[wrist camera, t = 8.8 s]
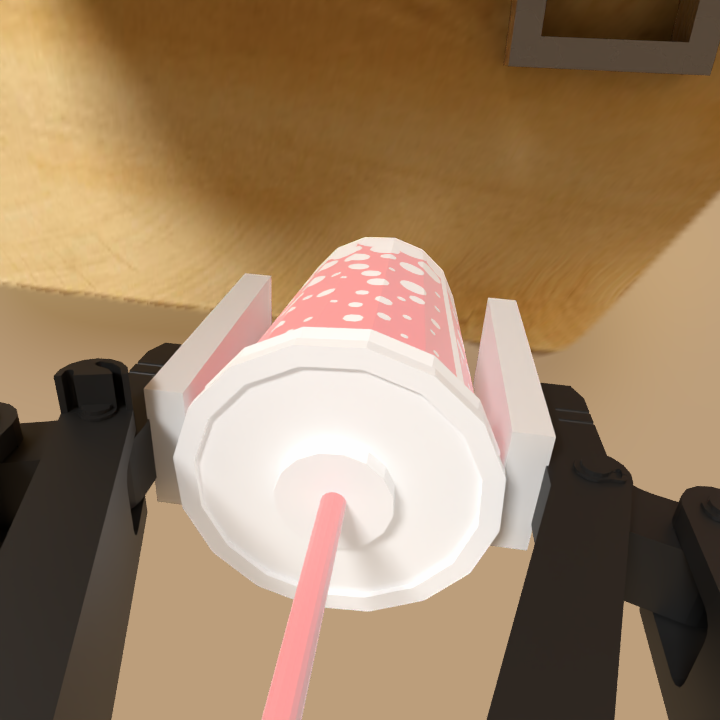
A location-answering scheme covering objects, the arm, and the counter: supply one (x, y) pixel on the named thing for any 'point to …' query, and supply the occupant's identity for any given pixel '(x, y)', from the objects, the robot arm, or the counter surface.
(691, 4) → the socket collar
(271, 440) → the beverage cup
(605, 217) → the counter surface
